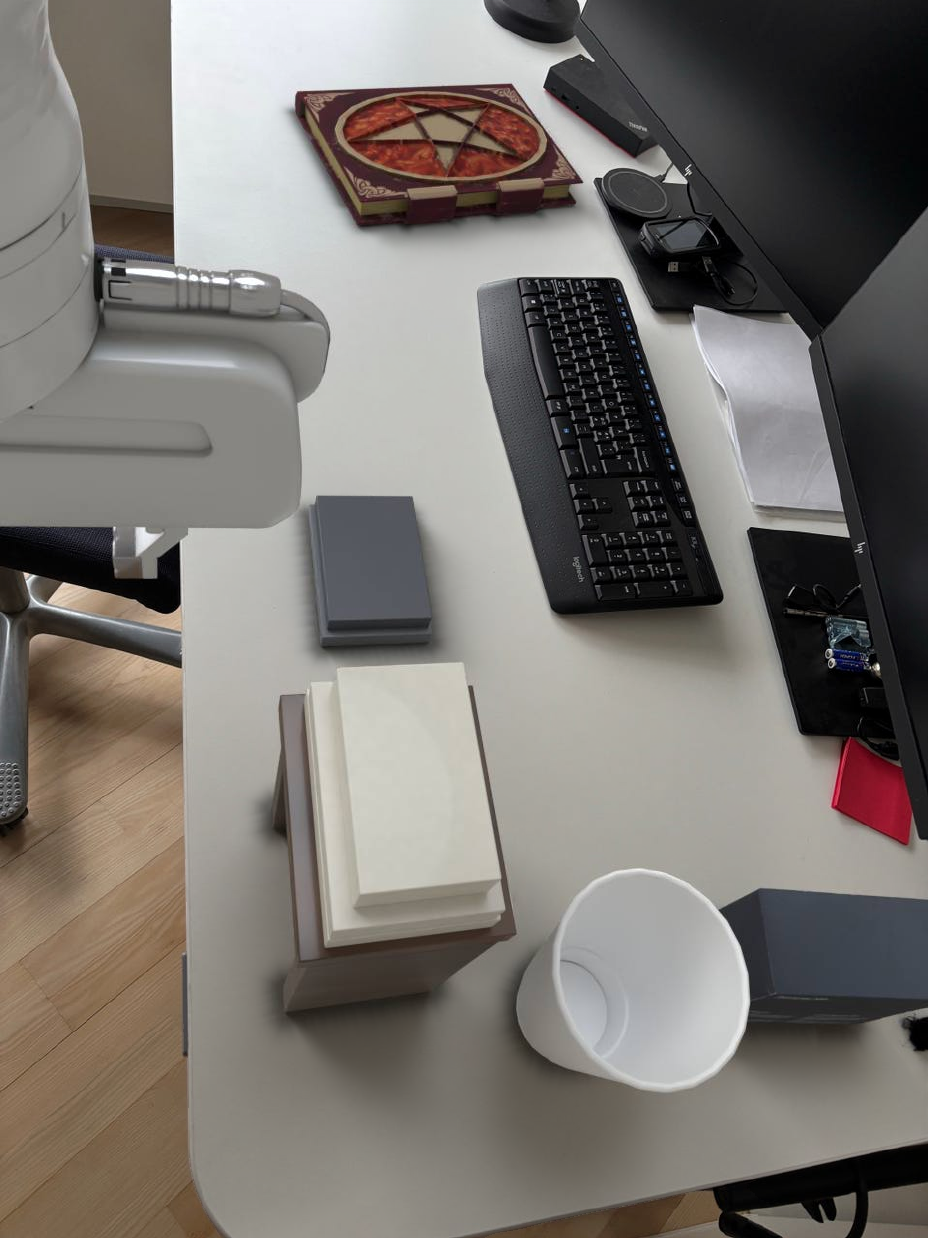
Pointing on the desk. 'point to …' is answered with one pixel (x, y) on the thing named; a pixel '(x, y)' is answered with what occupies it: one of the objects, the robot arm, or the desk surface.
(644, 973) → the cup
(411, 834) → the ivory book
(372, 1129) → the desk surface
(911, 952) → the small box
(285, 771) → the walnut shelf
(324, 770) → the white books
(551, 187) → the book
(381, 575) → the grey books
